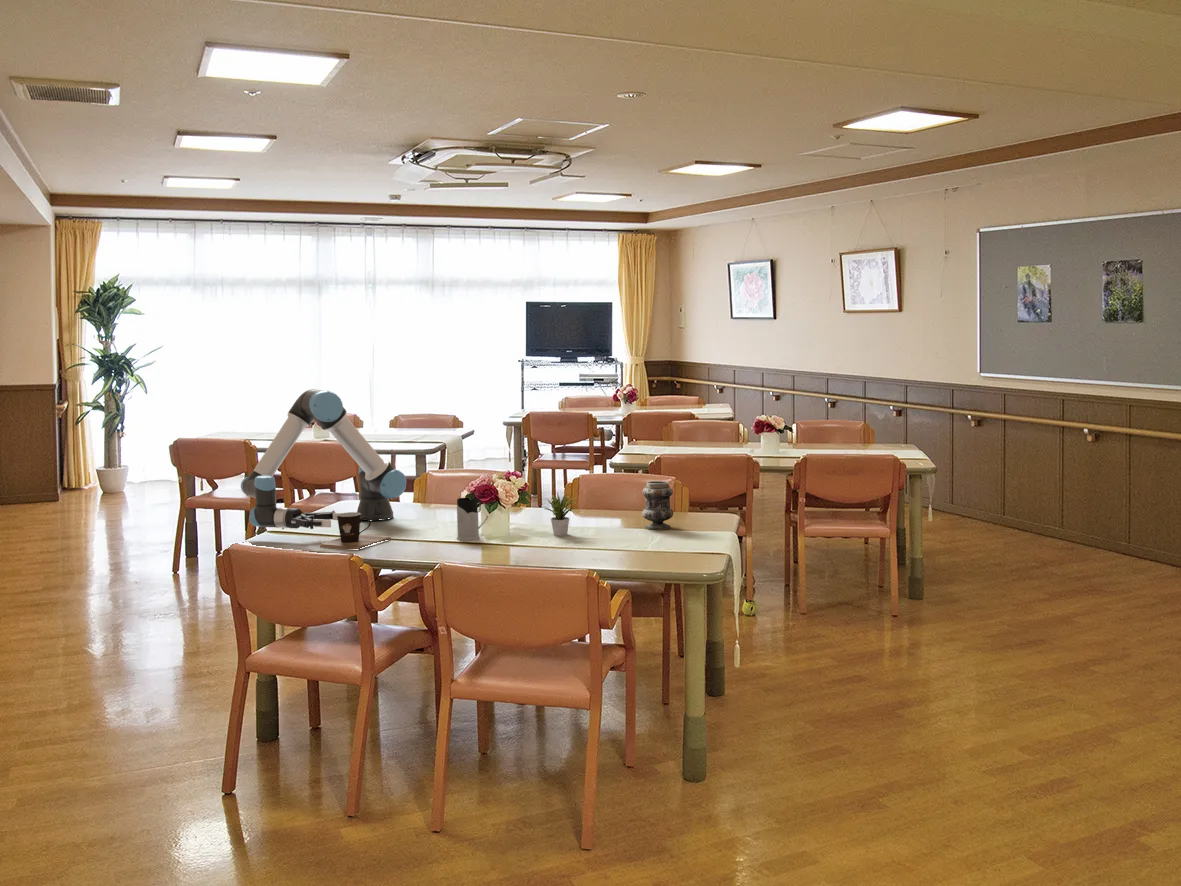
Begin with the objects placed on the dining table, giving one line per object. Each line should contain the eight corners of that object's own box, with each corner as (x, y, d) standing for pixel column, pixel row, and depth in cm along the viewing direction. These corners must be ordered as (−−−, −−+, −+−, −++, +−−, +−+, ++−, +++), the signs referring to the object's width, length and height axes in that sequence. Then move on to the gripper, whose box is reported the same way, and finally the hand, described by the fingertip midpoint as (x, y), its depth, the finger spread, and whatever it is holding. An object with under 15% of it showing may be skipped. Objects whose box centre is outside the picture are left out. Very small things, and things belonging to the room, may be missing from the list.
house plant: (575, 539, 411) (574, 496, 409) (538, 538, 413) (537, 495, 412) (582, 531, 425) (582, 489, 423) (547, 531, 427) (546, 489, 425)
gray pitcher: (452, 538, 417) (451, 498, 415) (484, 533, 425) (483, 494, 424) (464, 541, 410) (462, 501, 408) (496, 536, 418) (495, 497, 417)
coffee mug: (333, 542, 407) (331, 515, 406) (348, 538, 415) (347, 511, 414) (358, 544, 402) (357, 517, 401) (373, 540, 410) (372, 513, 408)
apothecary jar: (673, 524, 435) (673, 479, 433) (673, 530, 424) (672, 484, 422) (643, 524, 437) (642, 479, 435) (641, 530, 425) (640, 484, 423)
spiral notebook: (353, 536, 423) (353, 533, 423) (390, 539, 416) (390, 536, 416) (320, 547, 405) (320, 543, 405) (358, 550, 398) (358, 547, 398)
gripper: (307, 521, 429) (356, 523, 423) (271, 534, 406) (322, 536, 400) (306, 502, 428) (355, 504, 422) (270, 514, 405) (321, 516, 399)
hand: (339, 520), depth 411 cm, fingers open, 13 cm apart
